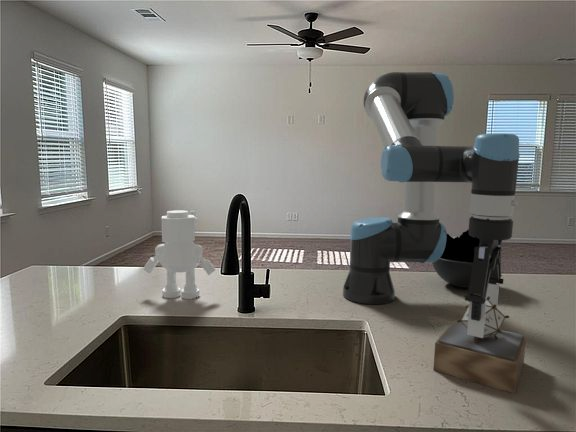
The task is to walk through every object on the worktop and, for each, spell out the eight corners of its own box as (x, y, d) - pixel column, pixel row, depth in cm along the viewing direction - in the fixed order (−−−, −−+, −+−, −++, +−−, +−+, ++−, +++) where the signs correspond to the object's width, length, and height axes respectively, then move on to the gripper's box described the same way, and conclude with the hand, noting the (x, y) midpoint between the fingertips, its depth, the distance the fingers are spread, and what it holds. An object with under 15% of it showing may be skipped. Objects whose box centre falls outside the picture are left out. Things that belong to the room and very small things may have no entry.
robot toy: (221, 291, 130) (220, 210, 127) (210, 303, 119) (209, 215, 115) (152, 288, 132) (150, 208, 129) (135, 300, 121) (132, 213, 118)
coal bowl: (505, 286, 138) (509, 229, 136) (480, 300, 124) (485, 237, 122) (446, 274, 152) (449, 222, 150) (417, 285, 138) (420, 228, 136)
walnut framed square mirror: (433, 370, 83) (435, 340, 82) (452, 344, 94) (453, 318, 93) (514, 393, 75) (517, 361, 74) (523, 362, 86) (526, 334, 85)
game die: (490, 359, 82) (518, 332, 76) (448, 340, 84) (473, 312, 77) (491, 324, 89) (517, 296, 82) (452, 307, 90) (475, 279, 83)
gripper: (502, 227, 68) (492, 352, 71) (521, 212, 88) (513, 310, 91) (453, 222, 72) (445, 341, 75) (482, 209, 93) (475, 302, 96)
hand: (482, 324), depth 83 cm, fingers open, 13 cm apart
